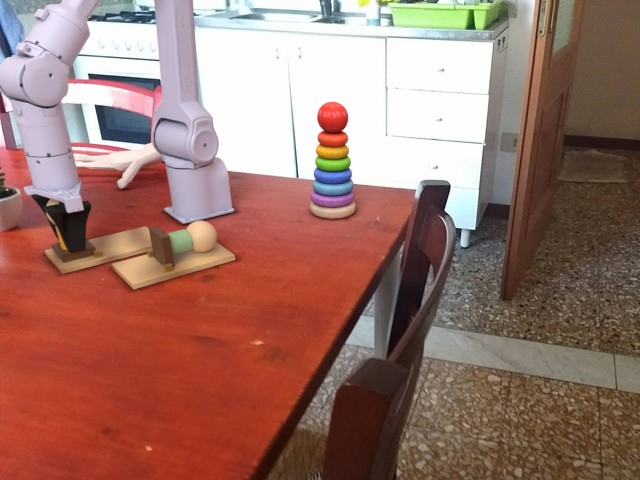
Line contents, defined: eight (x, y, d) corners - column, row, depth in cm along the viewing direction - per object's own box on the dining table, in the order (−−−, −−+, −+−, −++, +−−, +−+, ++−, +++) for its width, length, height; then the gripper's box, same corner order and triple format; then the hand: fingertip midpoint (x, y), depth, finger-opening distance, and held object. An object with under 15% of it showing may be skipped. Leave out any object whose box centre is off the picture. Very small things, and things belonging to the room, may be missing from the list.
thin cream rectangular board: (211, 242, 98) (209, 232, 97) (235, 259, 93) (234, 249, 92) (112, 268, 90) (110, 257, 89) (133, 289, 84) (131, 278, 84)
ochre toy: (72, 187, 90) (37, 194, 88) (83, 196, 87) (47, 203, 85) (86, 243, 95) (53, 251, 92) (96, 254, 92) (63, 262, 89)
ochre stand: (146, 230, 102) (144, 220, 101) (166, 246, 96) (165, 236, 96) (45, 254, 93) (42, 244, 92) (62, 274, 88) (59, 263, 87)
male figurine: (52, 202, 117) (188, 178, 118) (38, 170, 114) (178, 146, 115) (74, 178, 129) (197, 157, 130) (62, 149, 126) (188, 128, 127)
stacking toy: (345, 223, 106) (343, 109, 97) (302, 216, 108) (296, 104, 99) (362, 207, 113) (362, 100, 104) (321, 201, 115) (317, 95, 106)
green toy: (210, 242, 96) (206, 213, 94) (224, 252, 93) (221, 222, 91) (153, 257, 91) (148, 227, 89) (166, 268, 88) (161, 237, 86)
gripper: (2, 144, 87) (27, 235, 93) (30, 170, 77) (56, 269, 84) (57, 136, 91) (78, 224, 98) (90, 160, 81) (110, 256, 88)
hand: (71, 244), depth 91 cm, fingers closed on ochre toy, 4 cm apart
